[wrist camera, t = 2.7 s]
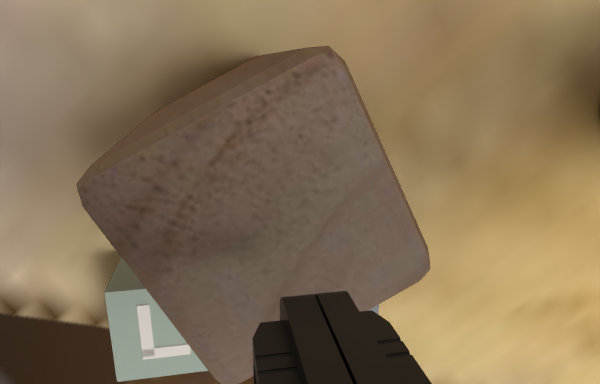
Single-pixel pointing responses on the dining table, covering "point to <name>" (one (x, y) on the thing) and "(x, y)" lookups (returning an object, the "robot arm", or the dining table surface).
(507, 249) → the dining table surface
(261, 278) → the wooden block
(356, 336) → the robot arm
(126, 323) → the sage numbered cube
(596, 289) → the dining table surface
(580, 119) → the dining table surface
